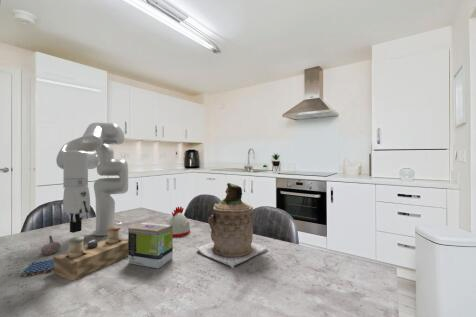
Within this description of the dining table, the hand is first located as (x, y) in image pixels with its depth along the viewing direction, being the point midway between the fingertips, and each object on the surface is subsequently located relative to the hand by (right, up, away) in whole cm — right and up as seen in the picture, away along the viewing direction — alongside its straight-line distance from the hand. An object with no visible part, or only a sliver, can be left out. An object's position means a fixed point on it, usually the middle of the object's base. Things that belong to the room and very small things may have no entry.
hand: (75, 231), depth 83 cm
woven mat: (-15, -16, +3) cm, 22 cm away
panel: (+3, -15, +7) cm, 17 cm away
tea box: (+25, -16, +9) cm, 31 cm away
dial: (+1, -9, +8) cm, 12 cm away
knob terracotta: (+7, -11, +14) cm, 19 cm away
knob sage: (0, -11, 0) cm, 11 cm away
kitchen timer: (+27, -16, +43) cm, 53 cm away
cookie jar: (+59, -15, +18) cm, 63 cm away
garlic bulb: (-24, -16, +17) cm, 34 cm away
